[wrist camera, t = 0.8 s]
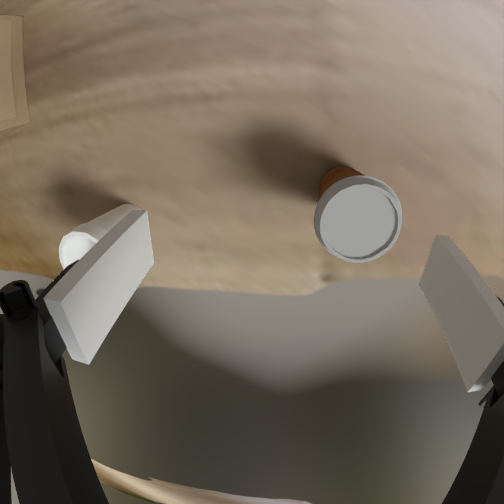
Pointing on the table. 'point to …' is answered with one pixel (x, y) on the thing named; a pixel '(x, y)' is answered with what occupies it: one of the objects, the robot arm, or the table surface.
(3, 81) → the carton
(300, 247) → the table surface
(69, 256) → the foam cup
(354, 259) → the disposable coffee cup
